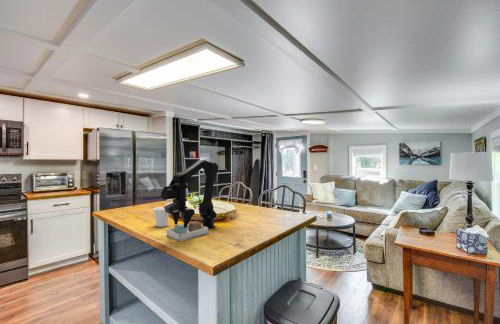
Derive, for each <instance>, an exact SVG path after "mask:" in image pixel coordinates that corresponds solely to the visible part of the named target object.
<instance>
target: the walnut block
mask: <svg viewBox="0 0 500 324" xmlns="http://www.w3.org/2000/svg"><path fill="white" fill-rule="evenodd" d="M201 225H202V222H201V221H197V220H195V221H189V223H188V231H189V232H191V231H195V230H199V229H201Z"/></svg>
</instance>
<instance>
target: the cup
mask: <svg viewBox="0 0 500 324" xmlns="http://www.w3.org/2000/svg"><path fill="white" fill-rule="evenodd" d="M164 207H165V206H157V207H153V209H152V210H153V214H154V220H155V225H156V226H157V228H164V227H166V226H168V220H169V213H166V211H165V209H164Z"/></svg>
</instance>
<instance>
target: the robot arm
mask: <svg viewBox="0 0 500 324" xmlns="http://www.w3.org/2000/svg"><path fill="white" fill-rule="evenodd" d="M200 170H203V173H204V175H205V183H204V191H203V192H204V193H203V199H202V201H201V202H199V204H198V213H199V216H200V218H202V220H201V221H202V222H201V225H202V226H205V227H208V230H209V229H213V228H216V227H217V226H216V225H215V218H217V212H216V211H215V209H214V204H213V201H212V198H213V190H214V183H215V181H214V180H215V177H216V176H217V174H218V171H219V165H218V164H217V163H216V162H211V161H207V160H206V159H198V160H197V161H196V162H195V163H194V164H192V165H191V166H189V167H188V168H186V169H185V170H183V171H180V172H177V173H174V175H173V176H172V179H171V181H170V183H169V184H168V185H165V186H163V188H162V190H161V192H160V196H161V198H162V200H164V201H166V200H167V201H168V200H172V202H171V203H168V204H166V205H165V206H163V207H164V209H165V211H166V213H169V214H170V215H171V216H172V219H173V222H174V226H175V225H178V223H179V219H180V218H179V217H181V218H182V220H183V223H182V224H184V228H186V227H187V225H188V223H189V222H191V221H190V220H191V219H192V217H193V216H195V215H196V214H195V209H193V208H190V207H188V206H187V202H188V198H187V189H189V188H190V186H188V185H187V184H188V183H189V182H190V180H191V178H192V177H193V176H194V175H195V174H197V172H200Z"/></svg>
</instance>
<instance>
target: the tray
mask: <svg viewBox="0 0 500 324" xmlns="http://www.w3.org/2000/svg"><path fill="white" fill-rule="evenodd" d="M205 235H209V229H208V227H205V226H202V224H201V229H199V230H195V231H191V232H189V231H188V225H187V233H183V234H178V233H176V232H174V227H173V228H169V229H166V237H167V238H171V239H173V240H175V241H177V242H183V241H186V240H187V241H188V240H190V239H194V238H198V237H201V236H202V237H203V236H205Z"/></svg>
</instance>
